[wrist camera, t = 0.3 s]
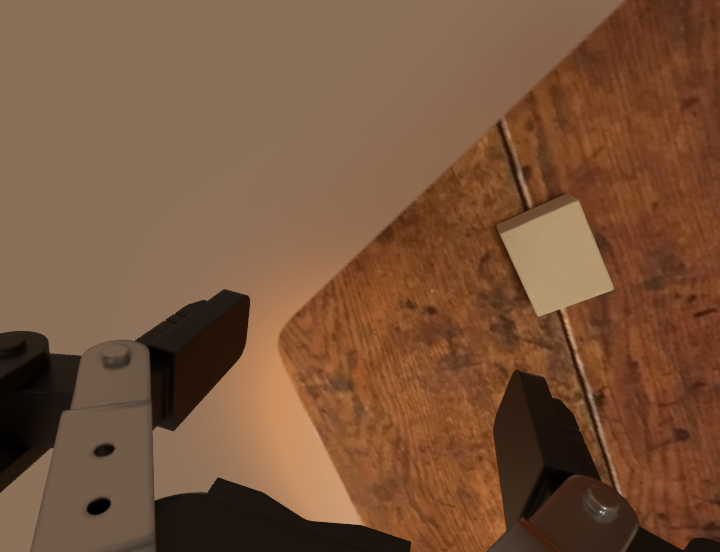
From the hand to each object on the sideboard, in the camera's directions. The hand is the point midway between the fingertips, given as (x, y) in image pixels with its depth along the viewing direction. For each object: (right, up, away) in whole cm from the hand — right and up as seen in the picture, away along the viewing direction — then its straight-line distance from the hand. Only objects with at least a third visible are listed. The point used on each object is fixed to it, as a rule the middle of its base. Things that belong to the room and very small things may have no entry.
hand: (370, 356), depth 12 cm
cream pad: (+12, +4, +15) cm, 20 cm away
